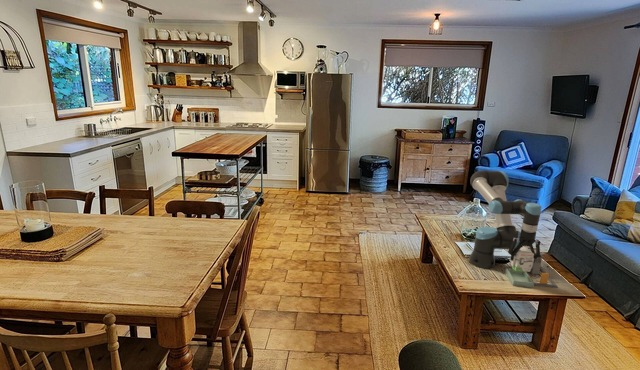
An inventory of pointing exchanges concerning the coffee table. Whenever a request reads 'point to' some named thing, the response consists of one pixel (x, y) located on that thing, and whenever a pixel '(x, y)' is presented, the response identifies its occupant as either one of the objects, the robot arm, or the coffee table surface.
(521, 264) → the ink box
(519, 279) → the tray
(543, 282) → the grey rectangular frame
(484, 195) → the robot arm
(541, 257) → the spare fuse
